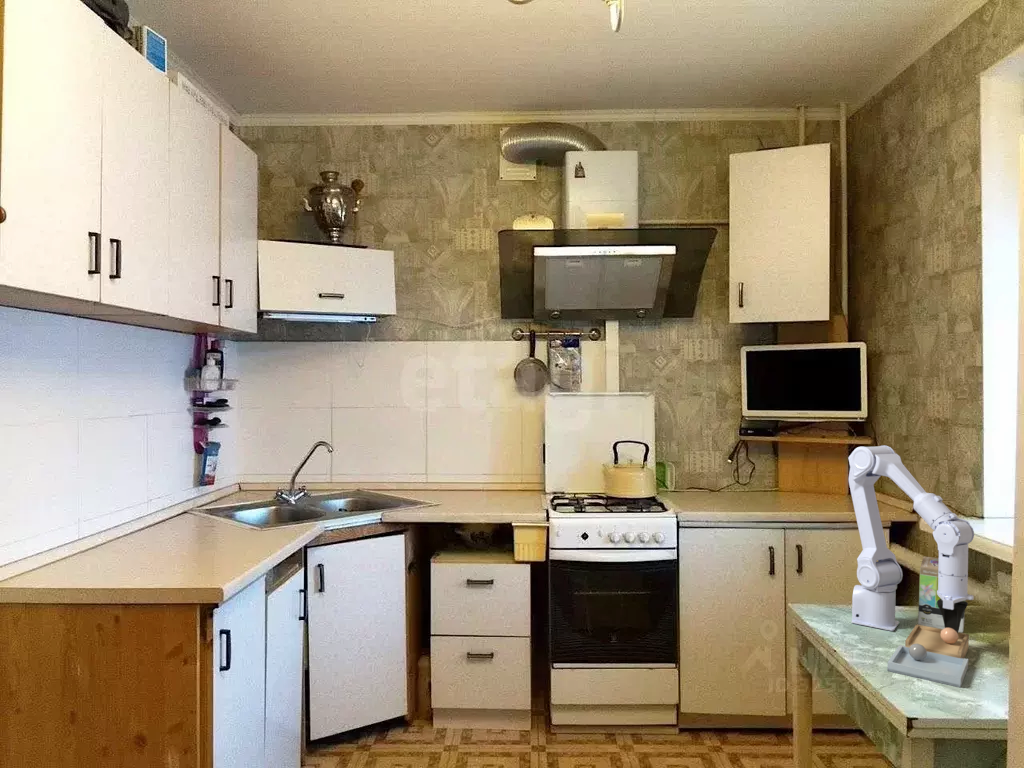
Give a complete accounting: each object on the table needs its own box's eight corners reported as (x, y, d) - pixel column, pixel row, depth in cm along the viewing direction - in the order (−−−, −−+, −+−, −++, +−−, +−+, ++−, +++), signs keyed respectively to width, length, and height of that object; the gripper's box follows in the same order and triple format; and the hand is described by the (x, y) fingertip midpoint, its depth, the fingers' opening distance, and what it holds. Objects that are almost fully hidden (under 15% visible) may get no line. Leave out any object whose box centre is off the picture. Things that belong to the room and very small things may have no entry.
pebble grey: (907, 660, 157) (907, 644, 157) (910, 656, 159) (910, 640, 159) (925, 664, 155) (924, 647, 155) (928, 659, 157) (928, 643, 157)
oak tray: (905, 655, 161) (905, 640, 161) (916, 637, 172) (916, 624, 172) (960, 666, 155) (961, 651, 155) (968, 648, 166) (968, 634, 166)
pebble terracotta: (939, 643, 162) (939, 628, 162) (941, 639, 164) (941, 624, 164) (957, 647, 160) (957, 631, 160) (959, 642, 162) (959, 627, 162)
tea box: (965, 634, 176) (966, 572, 175) (917, 626, 181) (918, 566, 181) (965, 617, 188) (966, 559, 188) (920, 610, 194) (921, 554, 194)
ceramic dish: (887, 670, 152) (887, 662, 152) (899, 652, 162) (899, 644, 162) (960, 687, 144) (960, 678, 144) (968, 667, 154) (968, 659, 154)
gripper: (970, 583, 157) (969, 646, 157) (977, 570, 169) (976, 629, 169) (932, 577, 161) (931, 639, 162) (941, 565, 173) (940, 622, 173)
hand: (951, 633), depth 165 cm, fingers closed
